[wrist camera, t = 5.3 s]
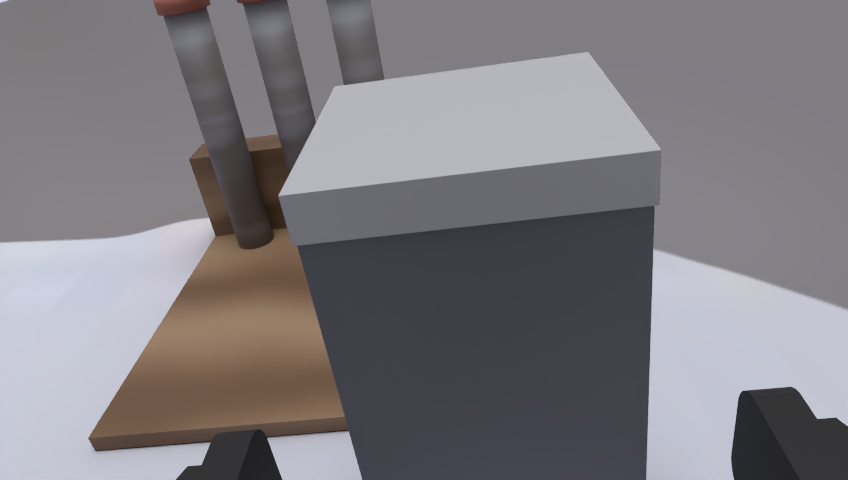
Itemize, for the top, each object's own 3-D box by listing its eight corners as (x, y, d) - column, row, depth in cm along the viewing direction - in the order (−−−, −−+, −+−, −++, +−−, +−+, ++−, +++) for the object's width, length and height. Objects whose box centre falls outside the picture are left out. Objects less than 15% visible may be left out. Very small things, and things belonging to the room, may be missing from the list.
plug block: (643, 662, 14) (661, 149, 8) (413, 672, 15) (278, 196, 9) (597, 474, 19) (587, 52, 13) (421, 486, 19) (334, 86, 13)
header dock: (439, 422, 21) (366, 20, 15) (94, 450, 23) (-106, 89, 16) (443, 203, 35) (406, -54, 29) (230, 227, 36) (150, -14, 30)
